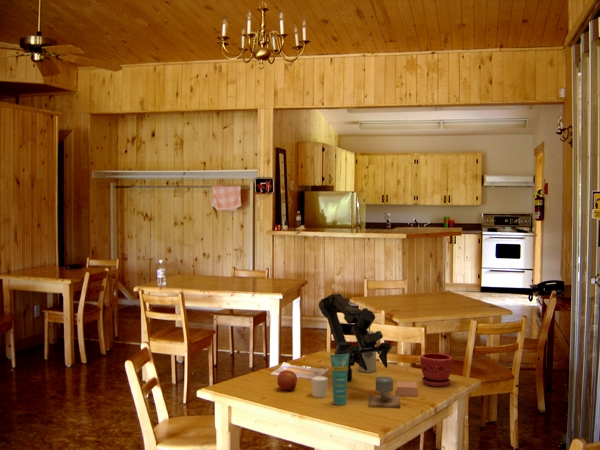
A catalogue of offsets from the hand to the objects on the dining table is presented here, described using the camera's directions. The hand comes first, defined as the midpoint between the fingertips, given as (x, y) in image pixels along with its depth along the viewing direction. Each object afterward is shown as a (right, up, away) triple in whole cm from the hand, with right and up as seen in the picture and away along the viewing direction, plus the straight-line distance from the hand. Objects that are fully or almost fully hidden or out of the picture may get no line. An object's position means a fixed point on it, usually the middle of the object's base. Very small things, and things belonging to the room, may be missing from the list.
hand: (376, 368), depth 238 cm
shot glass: (-22, -12, +5) cm, 26 cm away
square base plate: (+2, -12, -5) cm, 13 cm away
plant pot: (+28, -11, +20) cm, 36 cm away
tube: (-15, -12, -5) cm, 20 cm away
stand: (+13, -12, +7) cm, 19 cm away
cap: (+2, -7, -5) cm, 9 cm away
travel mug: (+1, -11, +41) cm, 42 cm away
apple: (-35, -12, +13) cm, 40 cm away
